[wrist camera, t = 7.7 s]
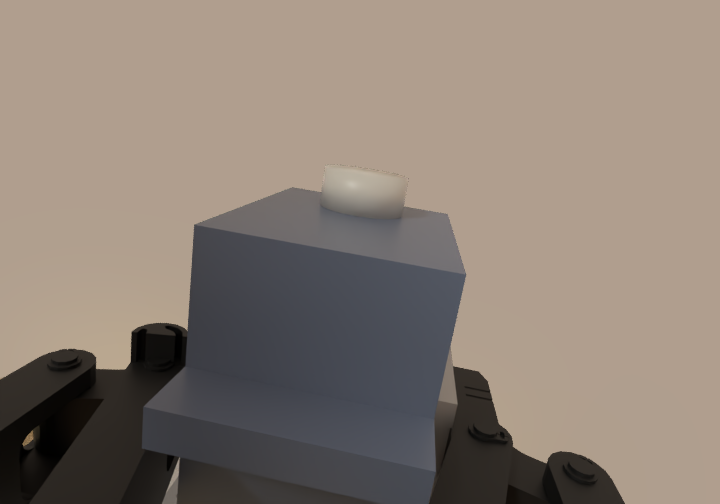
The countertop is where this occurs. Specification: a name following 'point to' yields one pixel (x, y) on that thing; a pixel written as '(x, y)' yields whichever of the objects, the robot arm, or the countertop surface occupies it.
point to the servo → (313, 348)
